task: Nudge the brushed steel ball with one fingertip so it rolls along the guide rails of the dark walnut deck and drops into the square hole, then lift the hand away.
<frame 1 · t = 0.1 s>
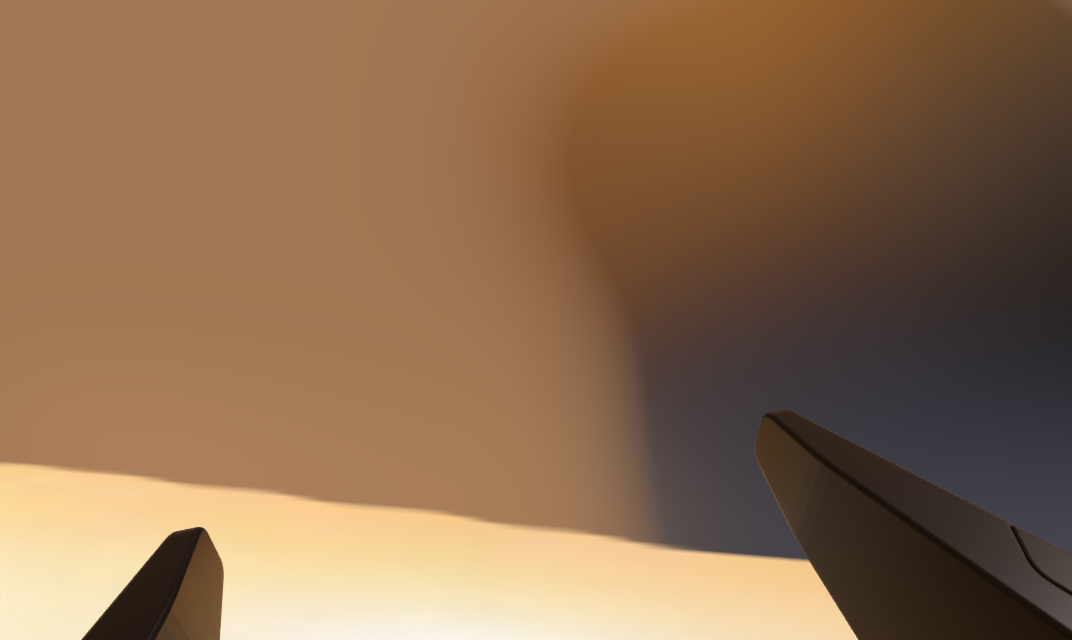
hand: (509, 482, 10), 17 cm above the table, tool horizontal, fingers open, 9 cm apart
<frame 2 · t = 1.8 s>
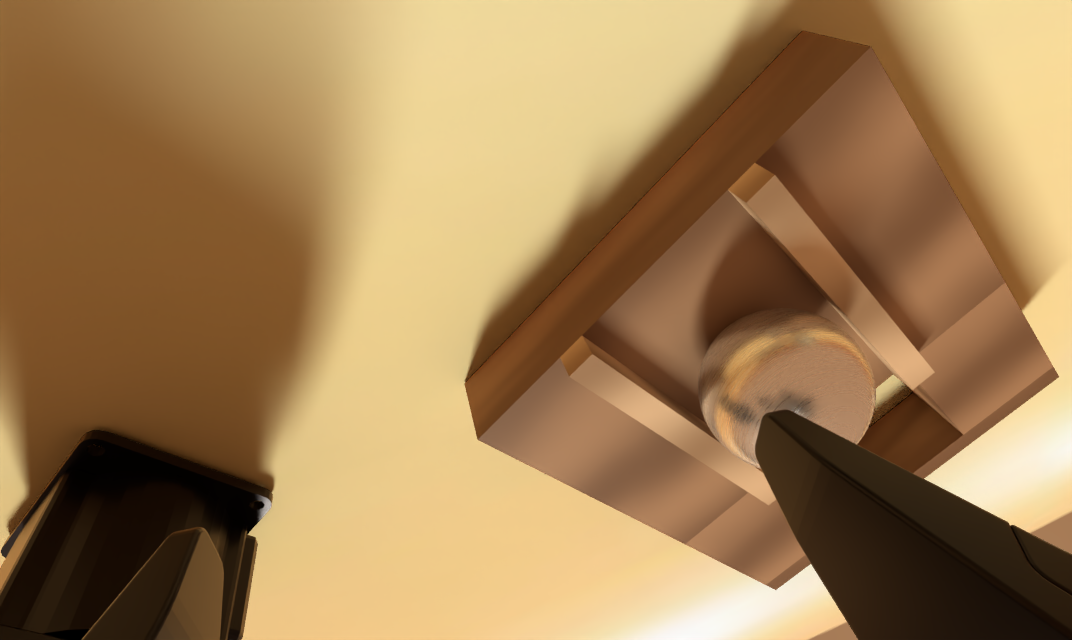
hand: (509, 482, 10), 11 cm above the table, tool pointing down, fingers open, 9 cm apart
hole deck: (765, 358, 26), on the table
steel ball: (782, 389, 18), point 5 cm above the table, touching hole deck
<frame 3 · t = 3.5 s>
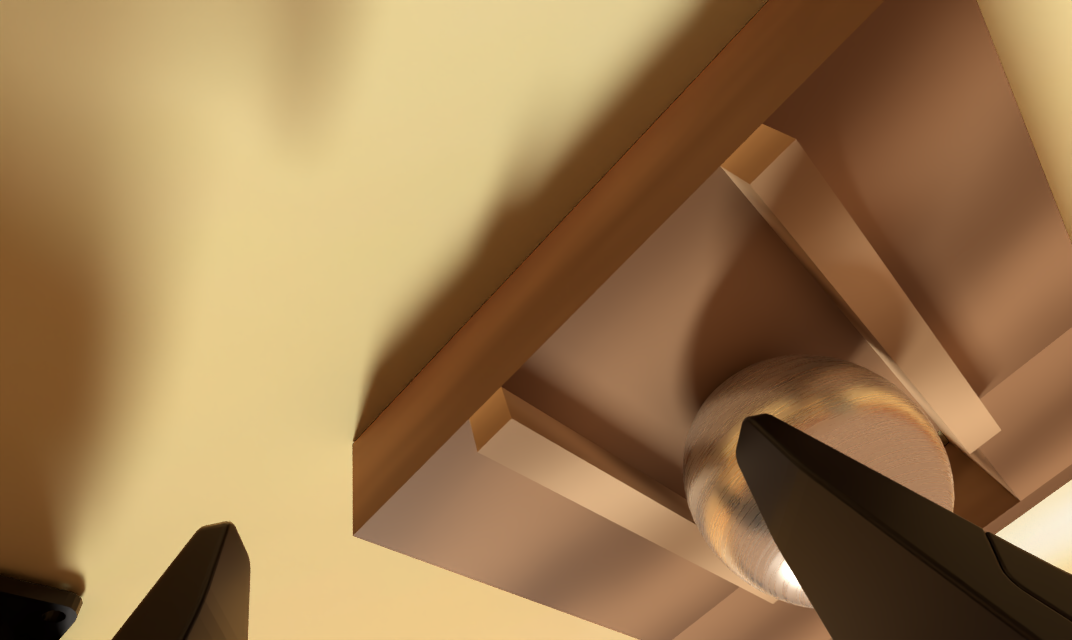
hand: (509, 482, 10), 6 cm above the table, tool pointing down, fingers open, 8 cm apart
hole deck: (767, 403, 19), on the table
steel ball: (807, 475, 12), point 5 cm above the table, tilted 7°, touching gripper, hole deck
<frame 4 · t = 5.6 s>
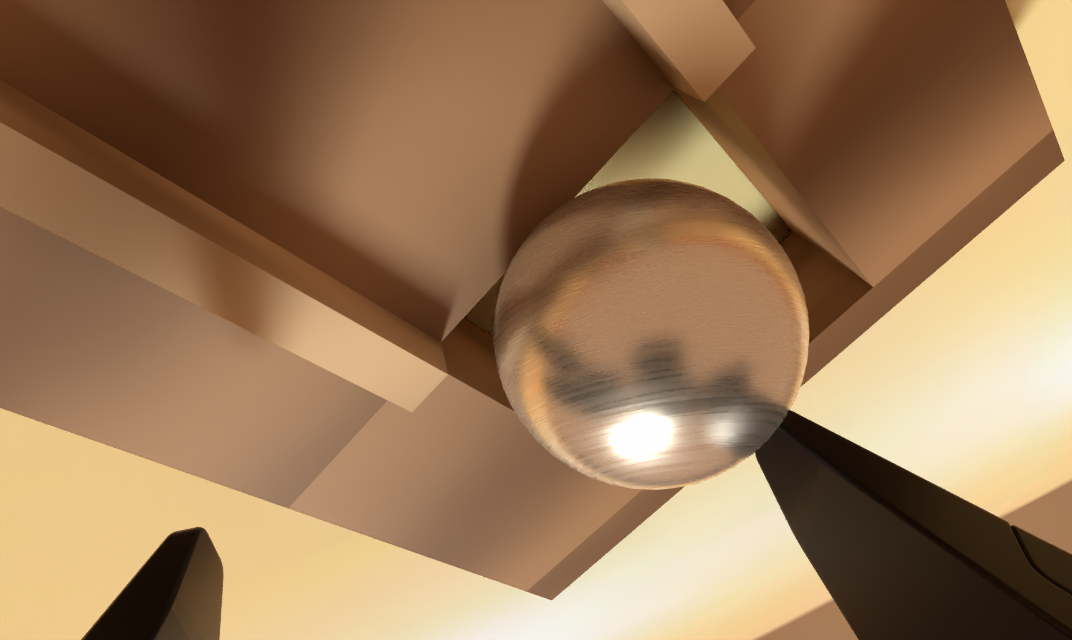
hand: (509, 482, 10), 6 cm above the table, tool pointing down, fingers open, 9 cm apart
hole deck: (439, 105, 12), on the table
steel ball: (644, 333, 10), point 5 cm above the table, tilted 144°, touching hole deck
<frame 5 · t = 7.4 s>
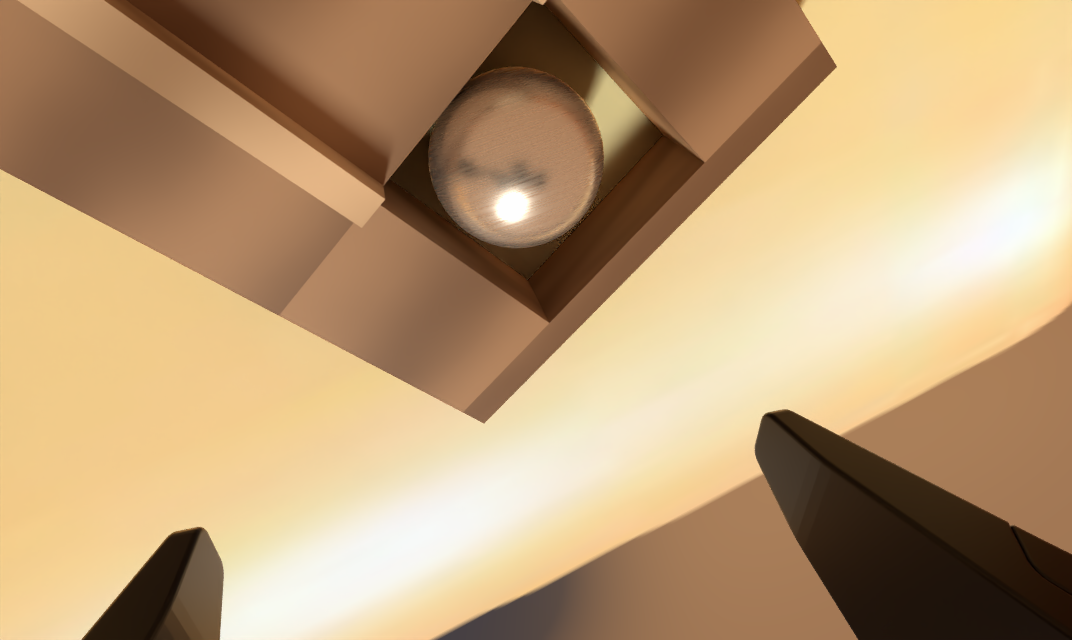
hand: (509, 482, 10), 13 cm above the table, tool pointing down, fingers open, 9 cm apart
hole deck: (384, 24, 17), on the table
steel ball: (516, 160, 17), point 2 cm above the table, tilted 111°
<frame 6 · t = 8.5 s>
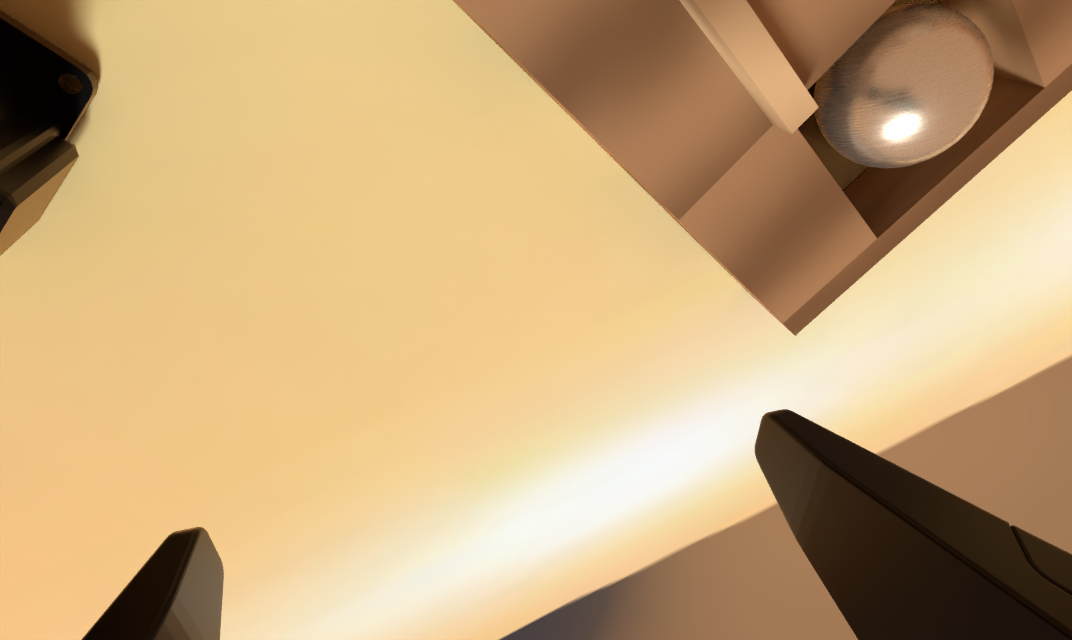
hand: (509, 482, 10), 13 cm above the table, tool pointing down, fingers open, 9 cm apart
steel ball: (897, 89, 20), point 2 cm above the table, tilted 104°
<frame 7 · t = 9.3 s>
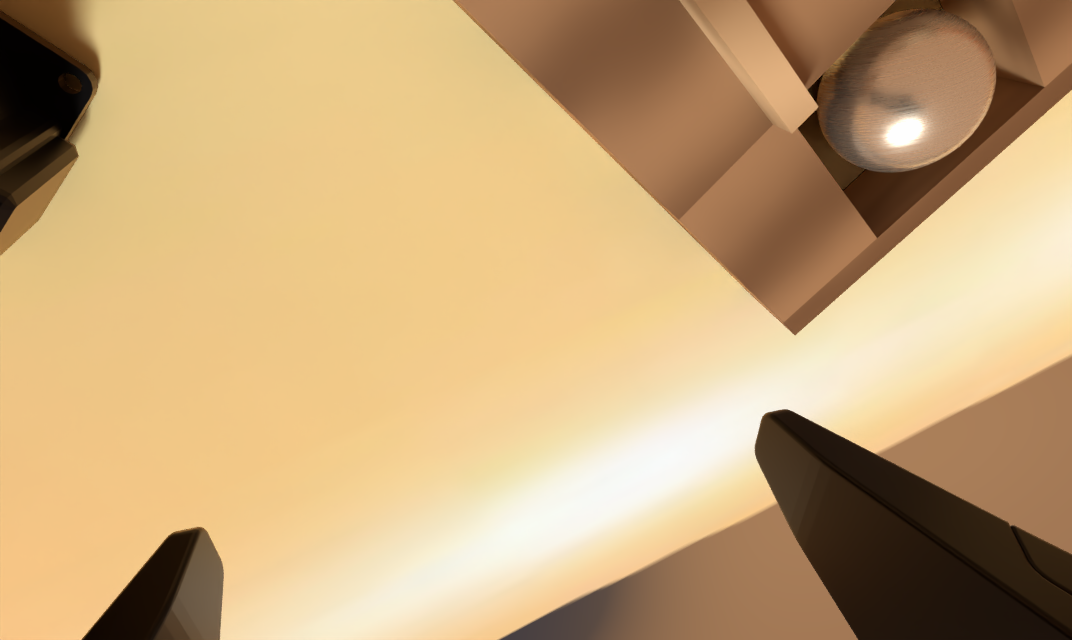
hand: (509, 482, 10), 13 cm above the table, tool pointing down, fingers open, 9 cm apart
steel ball: (900, 94, 20), point 2 cm above the table, tilted 99°
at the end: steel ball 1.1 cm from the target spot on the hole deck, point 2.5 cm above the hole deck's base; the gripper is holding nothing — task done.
